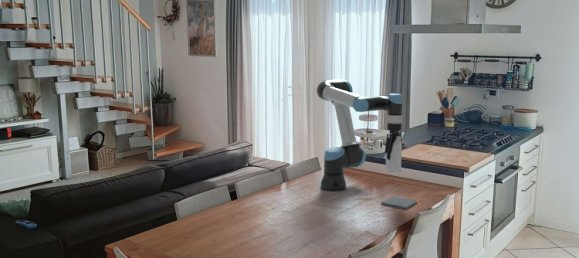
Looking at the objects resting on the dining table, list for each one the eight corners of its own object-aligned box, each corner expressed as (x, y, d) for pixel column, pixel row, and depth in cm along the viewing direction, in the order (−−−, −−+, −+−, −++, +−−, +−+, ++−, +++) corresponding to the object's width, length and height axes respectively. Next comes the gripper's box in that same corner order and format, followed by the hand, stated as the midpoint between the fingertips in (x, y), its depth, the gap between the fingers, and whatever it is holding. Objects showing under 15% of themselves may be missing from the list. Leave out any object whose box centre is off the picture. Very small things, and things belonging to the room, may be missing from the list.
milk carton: (401, 172, 281) (402, 137, 278) (387, 172, 281) (388, 137, 278) (398, 169, 288) (399, 135, 285) (385, 169, 288) (386, 135, 285)
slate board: (381, 204, 278) (381, 202, 278) (393, 198, 289) (393, 196, 289) (405, 209, 270) (405, 207, 270) (416, 203, 281) (416, 201, 281)
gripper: (391, 125, 270) (390, 168, 273) (409, 120, 287) (408, 160, 291) (378, 124, 274) (377, 166, 277) (397, 119, 292) (395, 158, 295)
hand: (393, 163), depth 284 cm, fingers closed on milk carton, 10 cm apart
